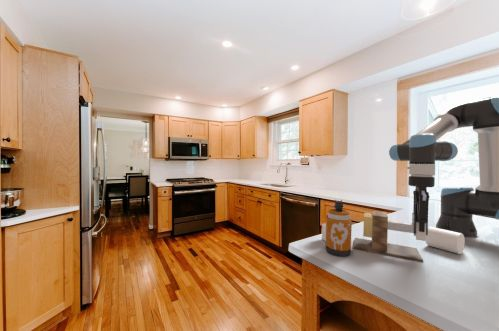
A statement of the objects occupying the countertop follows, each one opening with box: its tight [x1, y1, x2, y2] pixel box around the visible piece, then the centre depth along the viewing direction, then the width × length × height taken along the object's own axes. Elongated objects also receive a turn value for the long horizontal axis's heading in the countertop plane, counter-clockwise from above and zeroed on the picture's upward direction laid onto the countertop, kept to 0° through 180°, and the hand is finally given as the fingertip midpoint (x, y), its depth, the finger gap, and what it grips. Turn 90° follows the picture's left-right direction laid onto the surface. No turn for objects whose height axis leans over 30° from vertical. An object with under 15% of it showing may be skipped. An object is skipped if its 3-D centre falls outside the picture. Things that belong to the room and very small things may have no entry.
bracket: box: [352, 210, 424, 262], centre depth 84 cm, size 22×12×14 cm, turn 60°
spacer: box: [362, 212, 373, 239], centre depth 87 cm, size 3×8×8 cm, turn 150°
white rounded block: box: [425, 226, 466, 255], centre depth 86 cm, size 12×10×8 cm
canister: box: [325, 199, 353, 257], centre depth 81 cm, size 9×11×20 cm
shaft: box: [388, 212, 429, 236], centre depth 82 cm, size 20×4×7 cm, turn 60°
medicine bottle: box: [321, 213, 328, 242], centre depth 92 cm, size 7×7×12 cm
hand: (419, 237), depth 79 cm, fingers closed on shaft, 4 cm apart
